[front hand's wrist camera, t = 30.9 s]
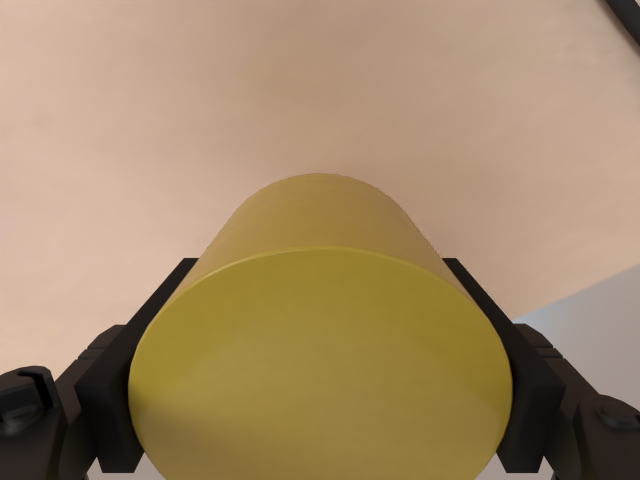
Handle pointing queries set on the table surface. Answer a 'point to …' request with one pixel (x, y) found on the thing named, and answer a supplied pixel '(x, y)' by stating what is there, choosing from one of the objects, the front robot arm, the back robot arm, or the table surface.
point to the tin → (320, 350)
